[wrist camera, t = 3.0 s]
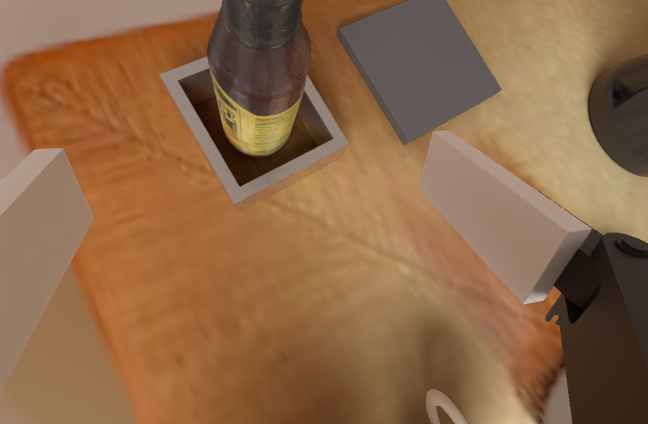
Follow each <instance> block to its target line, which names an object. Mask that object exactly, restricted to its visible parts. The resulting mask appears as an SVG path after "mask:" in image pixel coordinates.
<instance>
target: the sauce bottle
mask: <svg viewBox="0 0 648 424" xmlns="http://www.w3.org/2000/svg"><path fill="white" fill-rule="evenodd" d="M302 3H303V0H223V1H222V7H221V9H220V12H219V15H218V18H217V20H216V23H215V26H214V29H213V31H212V34H211V37H210V39H209V42H208V47H207V58H208V64H209V69H210V73H211V77H212V81H213V86H214V91H215V95H216V99H217V104H218V108H219V112H220V116H221V121H222V125H223V130H224V132H225V135H226V137H227V138H228V140H229V141H230V142H231V144H232V146H233V147H234V148H235V149H236V150H238V151H240V152H242V153H244V154H245V155H248V156H251V157H254V158H262V157H268V156H270V155H272V154H274V153H275V152H277V151H279V150H281V149H282V148H283V147H284V145H285V143H286V141H287V140H288V138H289V136H290V133H291V130H292V126H293V123H294V120H295V117H296V114H297V111H298V108H299V104H300V101H301V98H302V95H303V92H304V88H305V84H306V77H307V73H308V70H309V67H310V61H311V42H310V39H309V36H308V33H307V31H306V29H305V27H304V26H303V23H302V21H301V18H302V13H301V8H302Z"/></svg>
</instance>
